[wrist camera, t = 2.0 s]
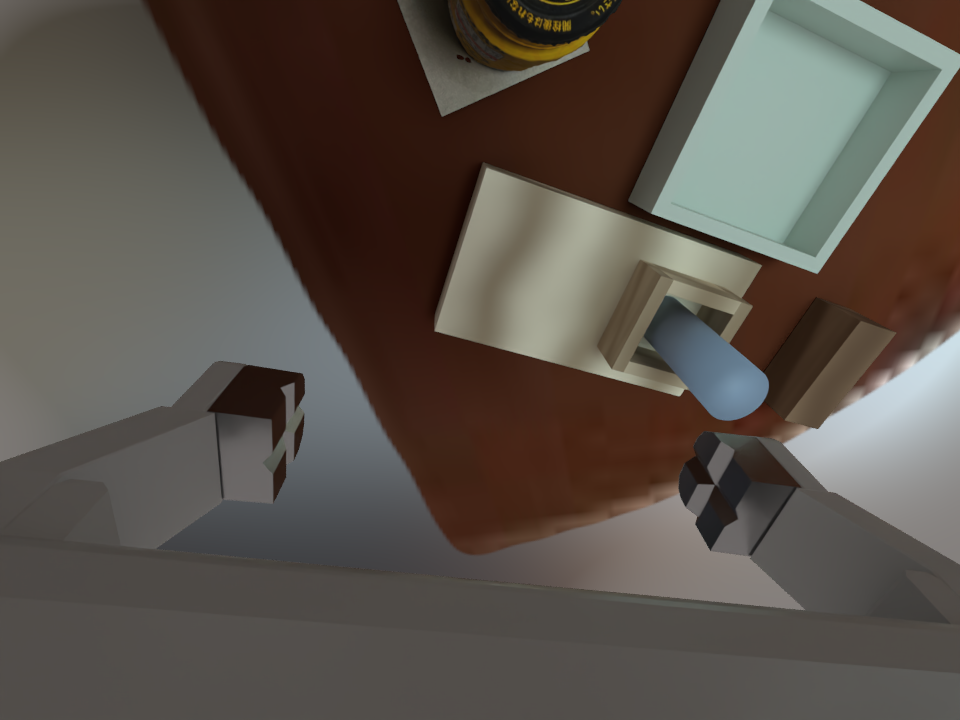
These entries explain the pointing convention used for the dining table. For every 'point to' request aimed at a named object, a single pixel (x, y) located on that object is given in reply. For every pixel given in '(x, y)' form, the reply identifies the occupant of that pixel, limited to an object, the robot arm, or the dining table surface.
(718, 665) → the robot arm
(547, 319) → the board
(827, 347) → the block
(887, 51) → the tray
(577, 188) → the dining table surface
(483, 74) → the condiment
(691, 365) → the dowel
